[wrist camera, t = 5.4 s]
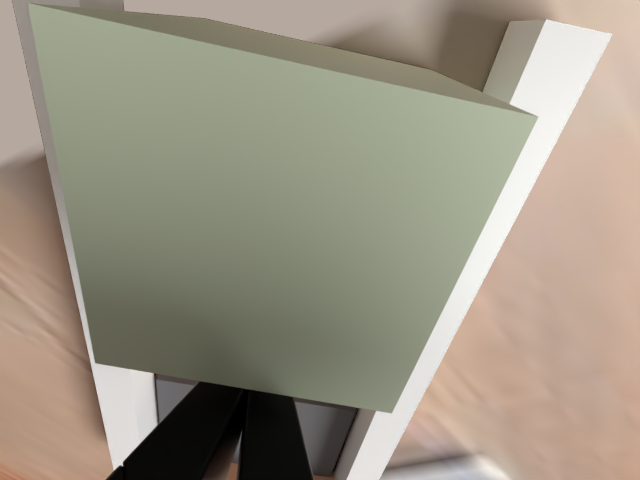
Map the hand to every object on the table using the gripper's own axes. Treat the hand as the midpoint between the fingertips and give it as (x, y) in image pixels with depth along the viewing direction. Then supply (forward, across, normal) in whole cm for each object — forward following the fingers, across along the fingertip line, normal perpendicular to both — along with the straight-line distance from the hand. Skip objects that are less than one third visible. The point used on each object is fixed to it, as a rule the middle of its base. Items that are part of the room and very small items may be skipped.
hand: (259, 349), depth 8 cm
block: (+3, 0, -4) cm, 5 cm away
